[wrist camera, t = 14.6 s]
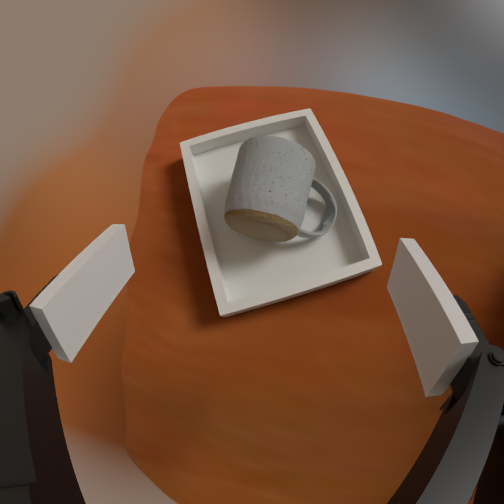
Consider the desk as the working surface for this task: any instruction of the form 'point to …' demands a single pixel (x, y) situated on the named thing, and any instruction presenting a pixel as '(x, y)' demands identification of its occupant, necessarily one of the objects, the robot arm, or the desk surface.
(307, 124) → the tray
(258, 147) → the ceramic mug
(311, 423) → the desk surface
